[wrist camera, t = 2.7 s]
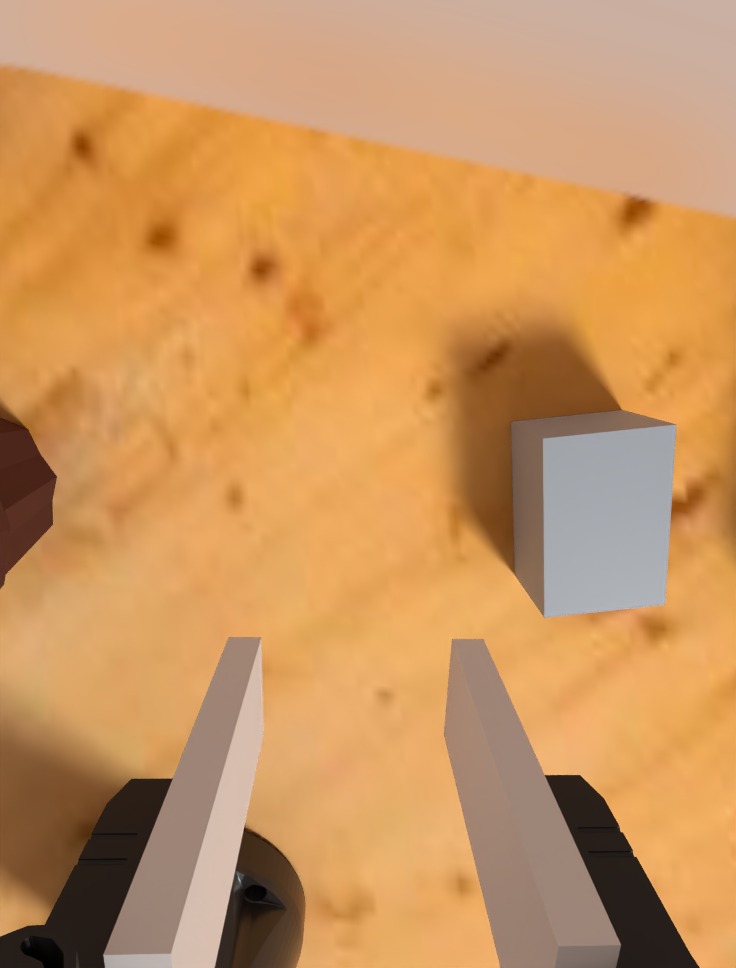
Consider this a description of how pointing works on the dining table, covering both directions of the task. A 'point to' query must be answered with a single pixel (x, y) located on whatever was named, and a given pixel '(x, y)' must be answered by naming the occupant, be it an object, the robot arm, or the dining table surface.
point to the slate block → (592, 510)
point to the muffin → (22, 495)
